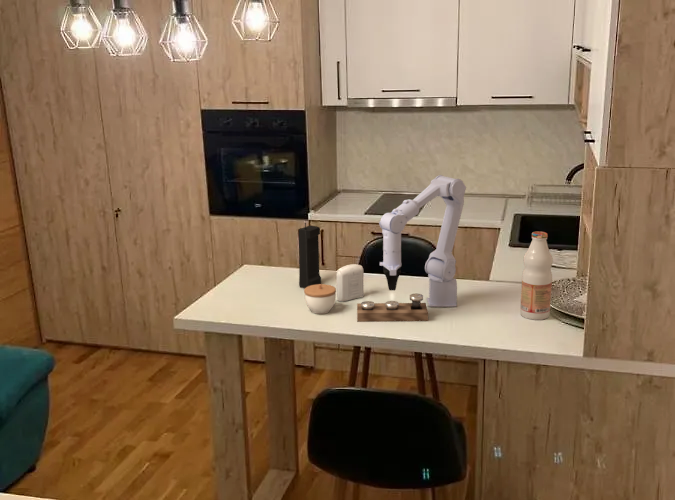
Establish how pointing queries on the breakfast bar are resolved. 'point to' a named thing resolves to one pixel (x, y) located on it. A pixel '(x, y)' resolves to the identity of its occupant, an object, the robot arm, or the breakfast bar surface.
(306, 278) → the portable radio
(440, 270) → the robot arm
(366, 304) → the knob
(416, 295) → the knob
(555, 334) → the breakfast bar surface
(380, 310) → the bar
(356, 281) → the photo printer
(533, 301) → the fruit juice
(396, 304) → the knob middle
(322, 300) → the lidded jar
